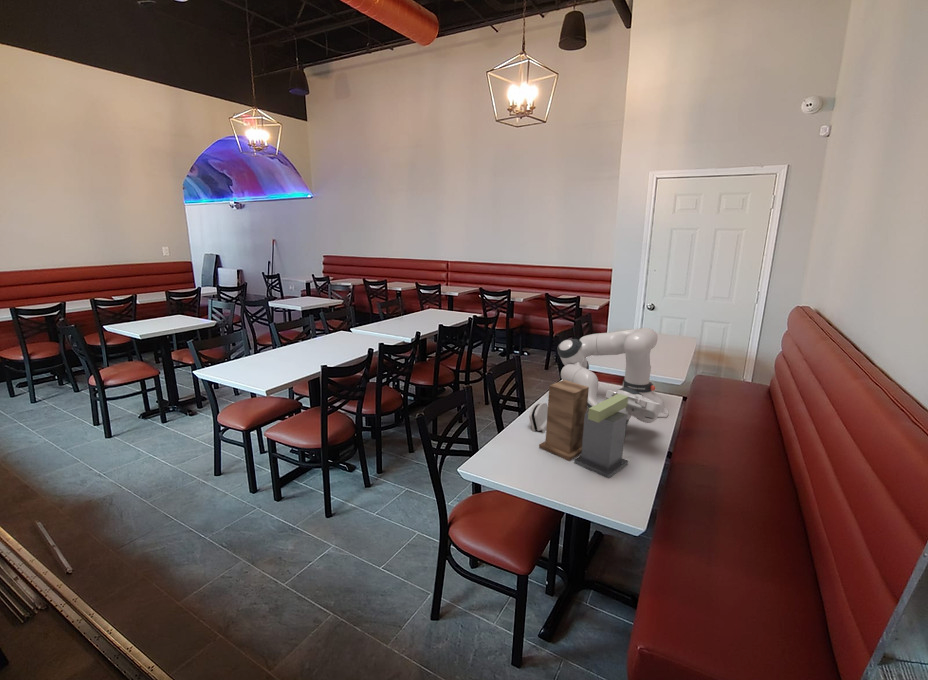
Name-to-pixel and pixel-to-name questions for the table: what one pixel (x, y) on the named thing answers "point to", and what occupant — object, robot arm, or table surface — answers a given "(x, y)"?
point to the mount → (603, 445)
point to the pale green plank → (607, 408)
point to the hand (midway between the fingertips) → (625, 397)
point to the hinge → (539, 417)
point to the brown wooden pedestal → (565, 419)
